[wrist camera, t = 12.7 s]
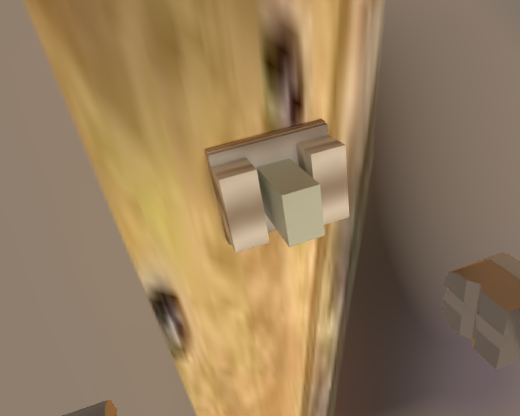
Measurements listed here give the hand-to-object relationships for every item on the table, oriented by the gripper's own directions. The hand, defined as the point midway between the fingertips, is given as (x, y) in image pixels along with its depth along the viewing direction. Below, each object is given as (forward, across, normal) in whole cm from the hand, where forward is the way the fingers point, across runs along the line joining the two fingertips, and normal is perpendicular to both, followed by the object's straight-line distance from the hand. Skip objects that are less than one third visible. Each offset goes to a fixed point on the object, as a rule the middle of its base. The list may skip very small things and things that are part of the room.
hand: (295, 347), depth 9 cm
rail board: (+35, -10, +13) cm, 38 cm away
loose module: (+33, -10, +13) cm, 37 cm away
